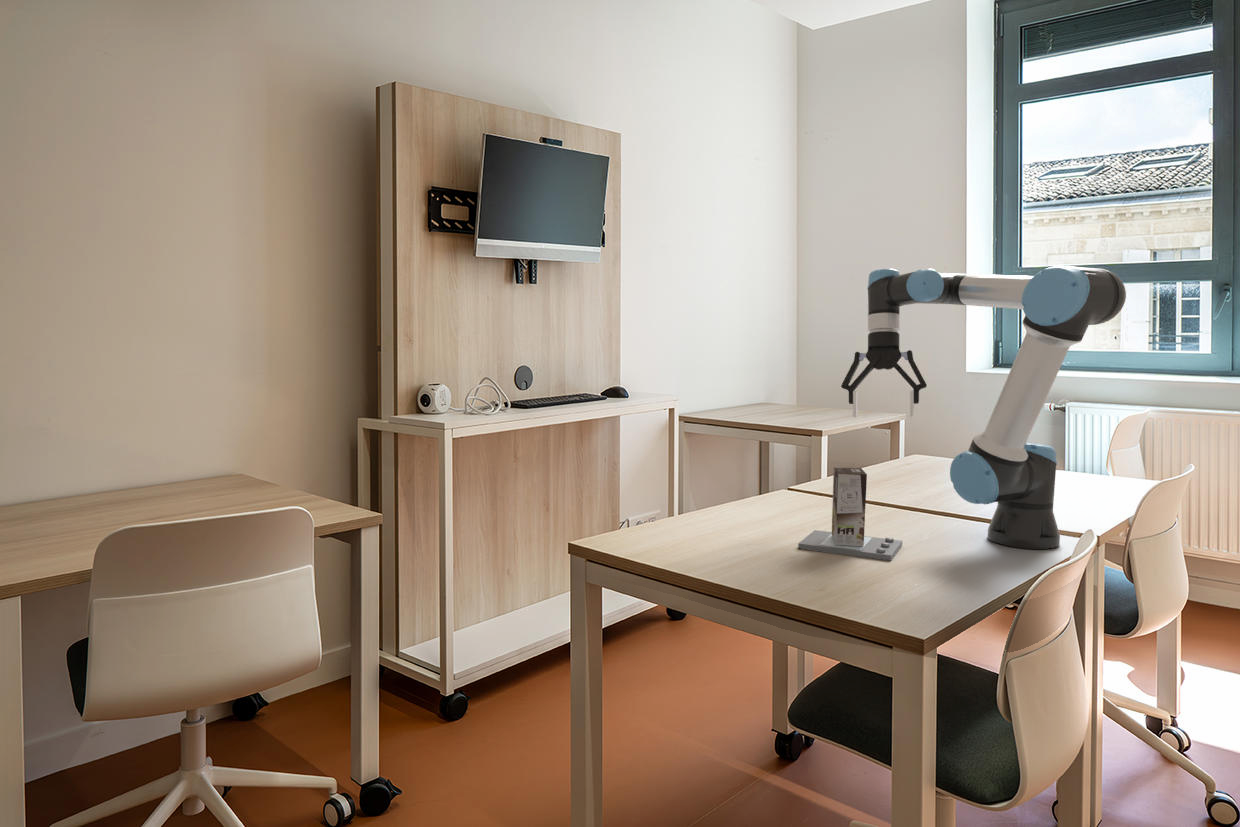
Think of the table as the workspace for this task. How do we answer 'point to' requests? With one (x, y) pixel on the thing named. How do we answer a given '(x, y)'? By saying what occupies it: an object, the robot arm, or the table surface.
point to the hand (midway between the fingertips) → (883, 417)
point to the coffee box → (849, 506)
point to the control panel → (871, 548)
